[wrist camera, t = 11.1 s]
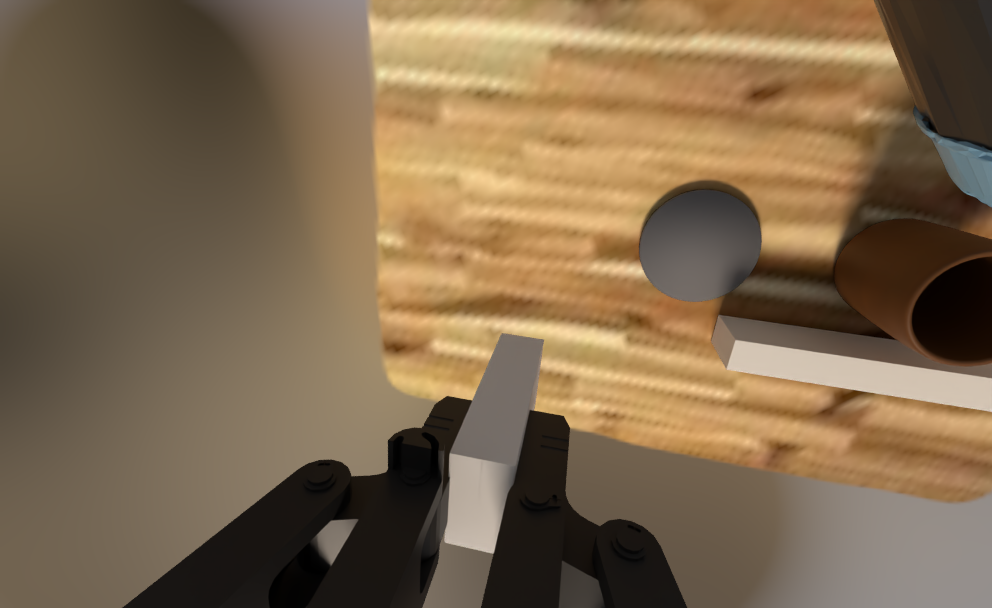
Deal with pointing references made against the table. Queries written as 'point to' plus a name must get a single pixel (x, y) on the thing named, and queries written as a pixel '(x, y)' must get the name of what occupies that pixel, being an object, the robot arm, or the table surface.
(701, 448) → the table surface
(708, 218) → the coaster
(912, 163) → the table surface
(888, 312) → the mug
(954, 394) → the board
